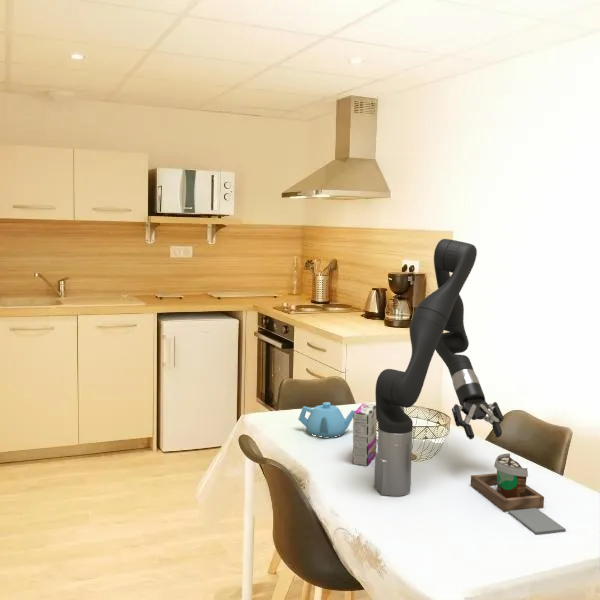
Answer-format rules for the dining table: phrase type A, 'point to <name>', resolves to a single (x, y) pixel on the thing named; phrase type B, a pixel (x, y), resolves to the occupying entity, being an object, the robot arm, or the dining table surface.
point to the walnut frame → (505, 504)
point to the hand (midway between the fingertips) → (485, 437)
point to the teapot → (325, 420)
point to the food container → (510, 477)
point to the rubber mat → (536, 521)
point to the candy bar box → (364, 434)
